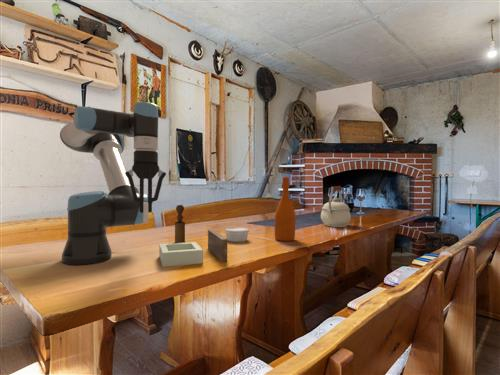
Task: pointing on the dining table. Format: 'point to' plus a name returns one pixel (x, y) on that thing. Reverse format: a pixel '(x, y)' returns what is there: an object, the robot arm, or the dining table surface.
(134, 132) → the robot arm
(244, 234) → the ramekin
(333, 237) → the dining table surface
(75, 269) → the dining table surface
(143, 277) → the dining table surface
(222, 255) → the backstop wall
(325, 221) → the kettle
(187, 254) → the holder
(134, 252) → the dining table surface
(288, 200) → the wine bottle
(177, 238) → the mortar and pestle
